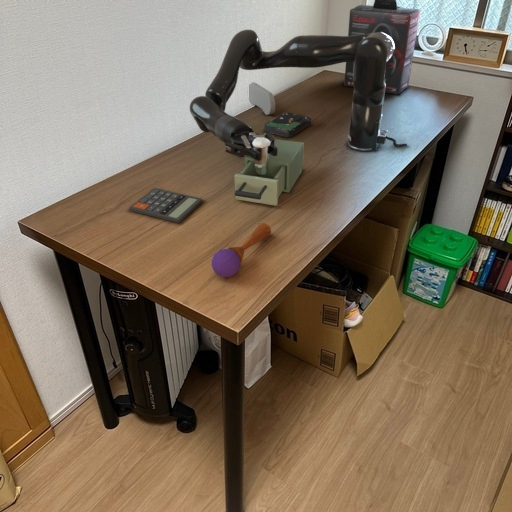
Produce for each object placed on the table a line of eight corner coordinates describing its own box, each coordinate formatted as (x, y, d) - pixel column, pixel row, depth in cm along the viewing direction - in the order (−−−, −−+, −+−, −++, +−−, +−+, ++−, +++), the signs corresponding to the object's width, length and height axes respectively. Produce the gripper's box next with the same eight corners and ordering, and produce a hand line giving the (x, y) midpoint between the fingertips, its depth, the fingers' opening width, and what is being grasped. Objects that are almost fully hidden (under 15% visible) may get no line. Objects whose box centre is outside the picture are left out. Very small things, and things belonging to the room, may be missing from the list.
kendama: (278, 224, 113) (232, 265, 98) (272, 244, 116) (227, 287, 101) (256, 213, 115) (208, 252, 100) (251, 234, 118) (204, 274, 103)
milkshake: (271, 177, 125) (272, 140, 119) (250, 175, 126) (250, 138, 120) (274, 169, 129) (275, 132, 123) (254, 167, 130) (254, 131, 124)
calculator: (154, 187, 134) (202, 198, 129) (155, 190, 135) (202, 201, 129) (128, 207, 126) (178, 219, 120) (129, 210, 126) (178, 222, 121)
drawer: (269, 218, 121) (269, 193, 117) (226, 210, 124) (225, 186, 120) (290, 183, 136) (291, 160, 131) (252, 177, 139) (251, 154, 135)
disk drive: (286, 119, 177) (263, 131, 167) (286, 111, 176) (263, 123, 166) (311, 124, 173) (289, 138, 163) (311, 117, 171) (289, 130, 161)
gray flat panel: (275, 116, 179) (276, 94, 174) (270, 118, 178) (270, 95, 173) (252, 101, 193) (252, 79, 188) (247, 102, 192) (247, 80, 187)
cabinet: (288, 192, 133) (289, 163, 128) (245, 185, 136) (244, 157, 131) (302, 170, 144) (303, 142, 139) (261, 164, 147) (261, 137, 142)
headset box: (342, 86, 207) (349, -2, 187) (353, 78, 215) (362, -7, 196) (398, 95, 196) (413, 3, 177) (408, 87, 204) (423, -2, 185)
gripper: (209, 124, 128) (243, 147, 117) (255, 113, 134) (291, 134, 123) (211, 151, 133) (244, 175, 121) (255, 139, 139) (290, 161, 127)
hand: (267, 154), depth 122 cm, fingers closed on milkshake, 4 cm apart
